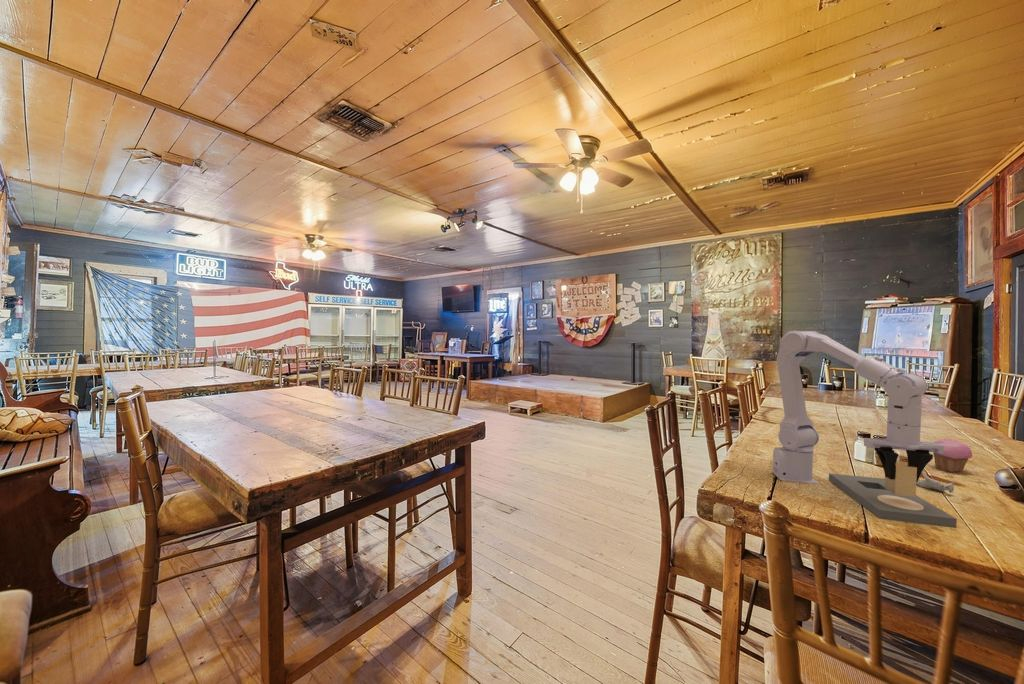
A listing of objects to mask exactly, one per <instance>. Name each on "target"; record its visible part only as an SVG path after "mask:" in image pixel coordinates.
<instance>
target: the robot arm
mask: <svg viewBox="0 0 1024 684" xmlns="http://www.w3.org/2000/svg"><path fill="white" fill-rule="evenodd" d="M779 344H780V346H779V349H778V352H777V356H776V364H777V372H778V378H779V379H778V380H779V386H780V393H781V394H780V395H781V400H782V407H783V412H784V413H783V414H784V417H783V418H782V420H781V421H780V423H779V432H778V434H777V437H778V440H779V443H780V444H781V446H780V447H779V446H778V447H774V449H773V452H772V470H771V473H773V474H774V476H775V477H777V478H778V479H779V480H780V481H781V482H782V481H789V482H797V483H798V482H800V483H808V484H816V485H817V484H819V482H818V481H817V480H816V479H814V477H813V471H814V470H813V469H814V468H813V467H814V461H813V460H814V447H815V446H816V445H817V444H818V443H819V442H820V435H819V433H818V431H817V429H816V428H815V426H814V421H813V420H812V419H811V418H810V417H809V416H808V413H807V406H806V401H805V393H804V386H803V381H802V374H801V368H800V363H801V362H802V361H803V360H805V359H806V358H807V357H808V356H810V355H812V354H815V353H819V352H821V353H824V354H827V355H828V356H830V357H833V358H835V359H837V360H839V361H841V362H843V363H845V364H848V366H849V365H850V366H851V367H853V370H854V373H855V374H856V375H858V376H860V377H861V378H864V379H865V380H867V381H868V382H870V383H873V384H874V385H875V386H878V387H880V388H882V389H883V390H884V392H885V393H886V394H887V396H888V403H887V415H886V416H887V417H886V421H887V422H886V438H885V437H883V438H881V437H879V438H878V437H877V438H875V437H874V438H873V437H870V438H869V437H864V438H863V447H866V448H869V449H873V450H874V452H875V453H876V455H877V457H878V458H879V461H880V463H881V465H882V468H883V472H884V478H885V477H887V478H889V479H892V480H894V476H895V465H896V461H898V457H899V453H897V452H895V450H903V451H905V452H906V457H907V463H909V464H911V465H913V466H915V467H917V479H916V482H918V479H920V477H921V474H922V471H923V470H924V469H925V467H926V466H927V465H929V463H930V462H931V461H932V460H933V458H934V454H932V453H933V452H936V453H942V454H943V453H944V446H943V445H941V444H938V443H934V442H928V441H921V426H922V399H923V397H922V395H924V394H925V393H926V392H927V390H928V384H927V381H926V380H925V379H924V378H923V377H922V376H920V375H919V374H917V373H913V372H907V373H906V372H905V371H906V369H904V368H902V367H896V366H894V365H893V364H890V363H888V362H886V361H884V360H885V359H884V357H881V356H878V355H877V356H874V355H867V356H863V355H861V354H859V353H858V352H855V351H854V350H852V349H850V348H848V347H846V346H845V345H843V344H841V343H839V342H837V341H836V340H834V339H832V338H831V337H829V336H828V335H825V334H821V333H820V332H818V331H815V330H809V331H807V330H805V331H803V330H802V331H801V330H800V331H799V330H790V331H788V332H786V333H785V334H784V335H783V336H782V337H781V338H780V339H779Z"/></svg>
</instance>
